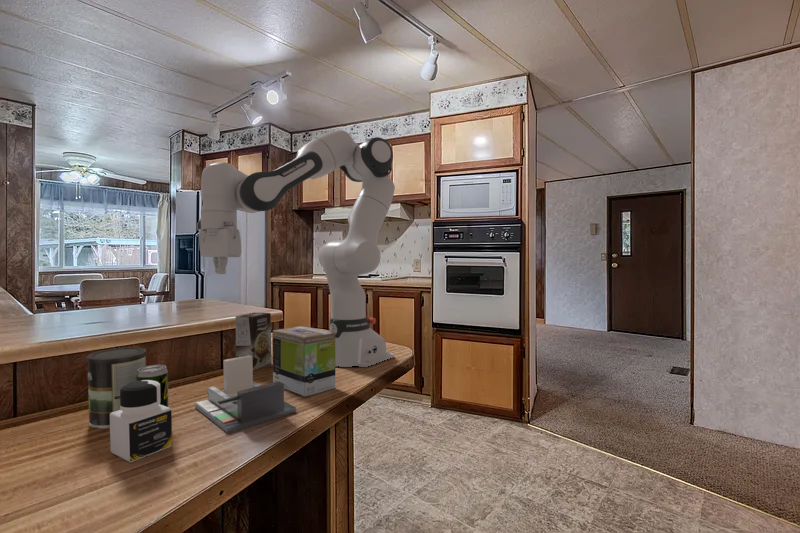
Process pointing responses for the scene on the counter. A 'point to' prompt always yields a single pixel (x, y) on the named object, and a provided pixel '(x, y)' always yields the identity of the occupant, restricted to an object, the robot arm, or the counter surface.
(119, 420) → the medicine bottle
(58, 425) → the counter surface
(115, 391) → the coffee can
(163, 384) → the green drink can
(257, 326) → the coffee box
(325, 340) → the tea box
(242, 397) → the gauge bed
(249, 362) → the plunger
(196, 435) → the counter surface
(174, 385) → the counter surface
